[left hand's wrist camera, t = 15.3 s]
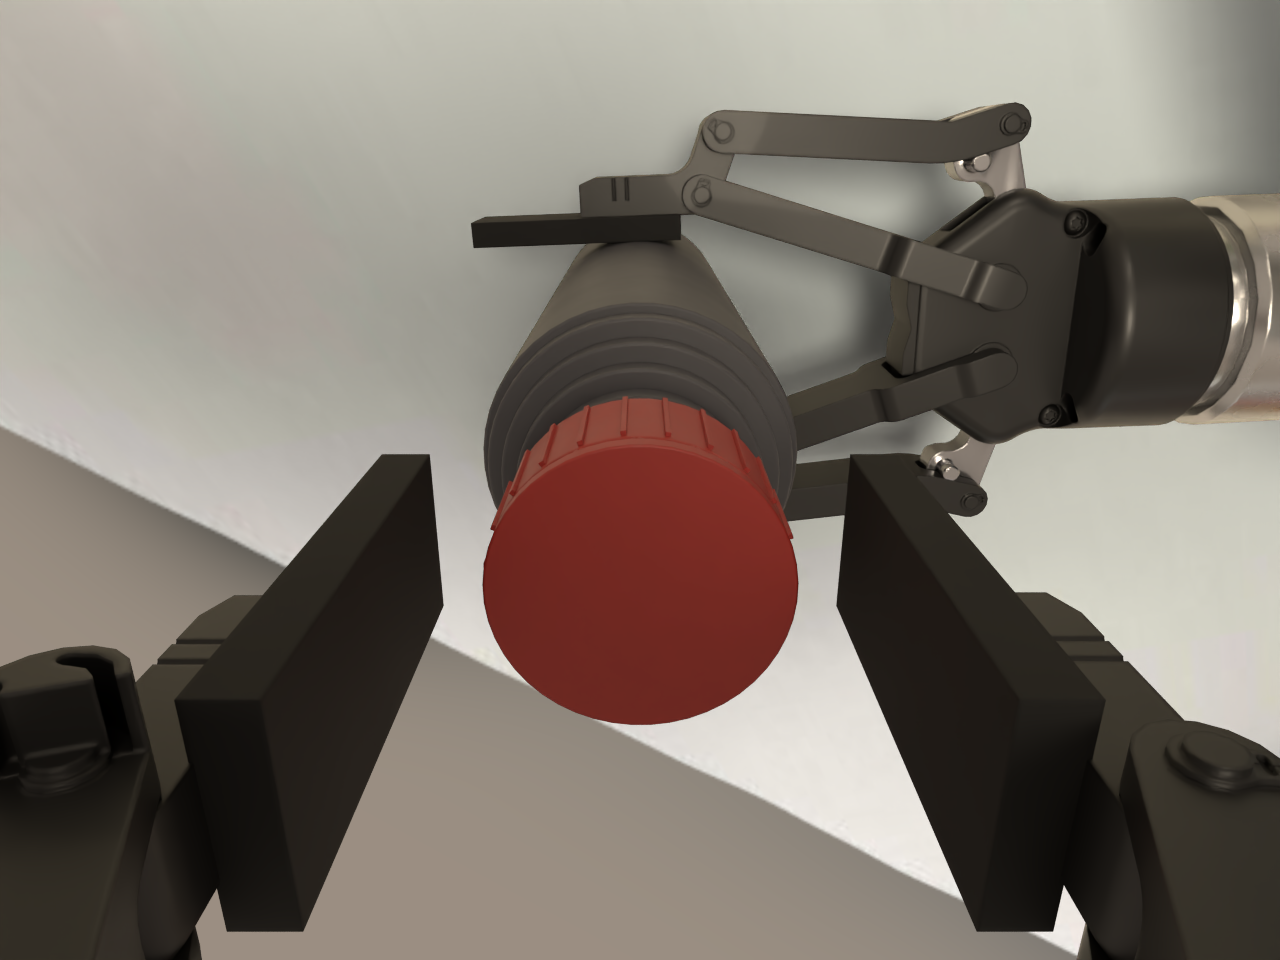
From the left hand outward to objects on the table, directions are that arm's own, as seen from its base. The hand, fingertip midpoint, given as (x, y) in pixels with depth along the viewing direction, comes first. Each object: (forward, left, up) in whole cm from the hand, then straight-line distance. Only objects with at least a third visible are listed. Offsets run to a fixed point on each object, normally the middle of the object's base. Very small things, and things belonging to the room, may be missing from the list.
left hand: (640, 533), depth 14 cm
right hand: (-4, -3, -16) cm, 17 cm away
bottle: (0, 0, -23) cm, 23 cm away
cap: (0, 0, +2) cm, 2 cm away
